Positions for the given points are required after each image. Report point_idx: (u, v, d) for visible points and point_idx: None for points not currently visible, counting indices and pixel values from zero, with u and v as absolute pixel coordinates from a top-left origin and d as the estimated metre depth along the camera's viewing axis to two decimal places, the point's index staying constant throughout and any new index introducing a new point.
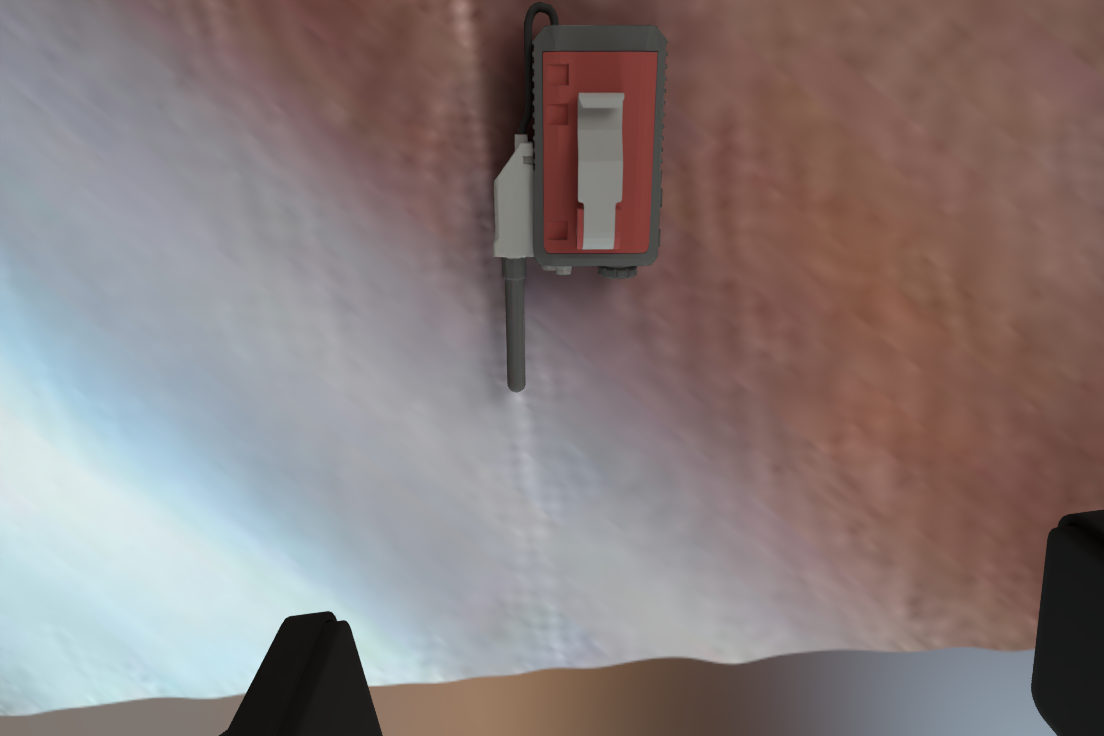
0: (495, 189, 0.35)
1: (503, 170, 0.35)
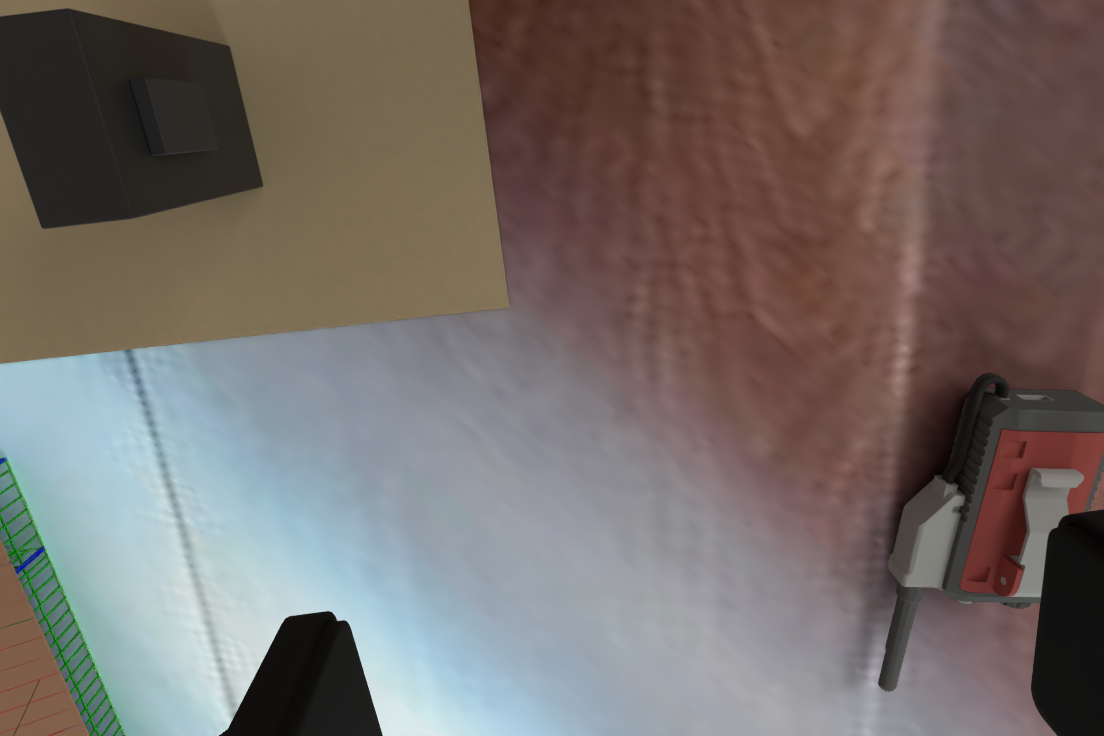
0: (919, 532, 0.37)
1: (931, 517, 0.37)
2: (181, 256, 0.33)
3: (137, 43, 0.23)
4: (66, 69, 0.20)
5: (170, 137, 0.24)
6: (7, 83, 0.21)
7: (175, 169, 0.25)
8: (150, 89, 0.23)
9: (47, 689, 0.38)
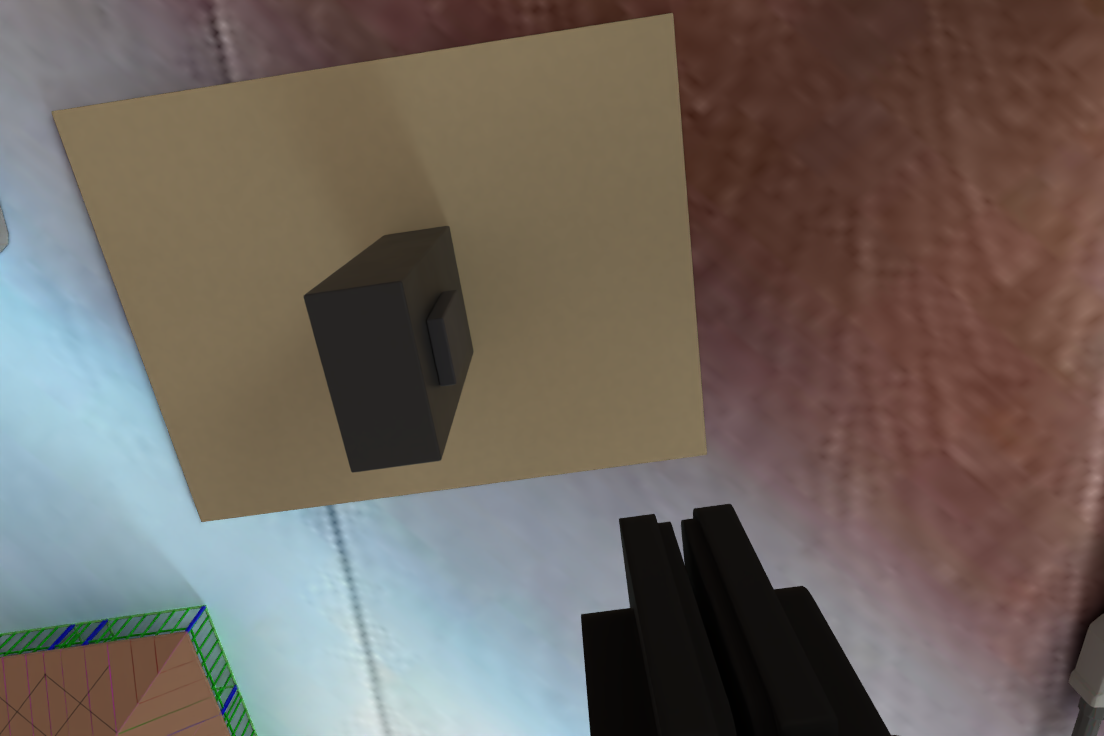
0: None
1: None
2: None
3: (423, 277, 0.24)
4: (392, 334, 0.21)
5: (455, 365, 0.24)
6: (334, 349, 0.21)
7: (448, 386, 0.25)
8: (444, 327, 0.23)
9: None
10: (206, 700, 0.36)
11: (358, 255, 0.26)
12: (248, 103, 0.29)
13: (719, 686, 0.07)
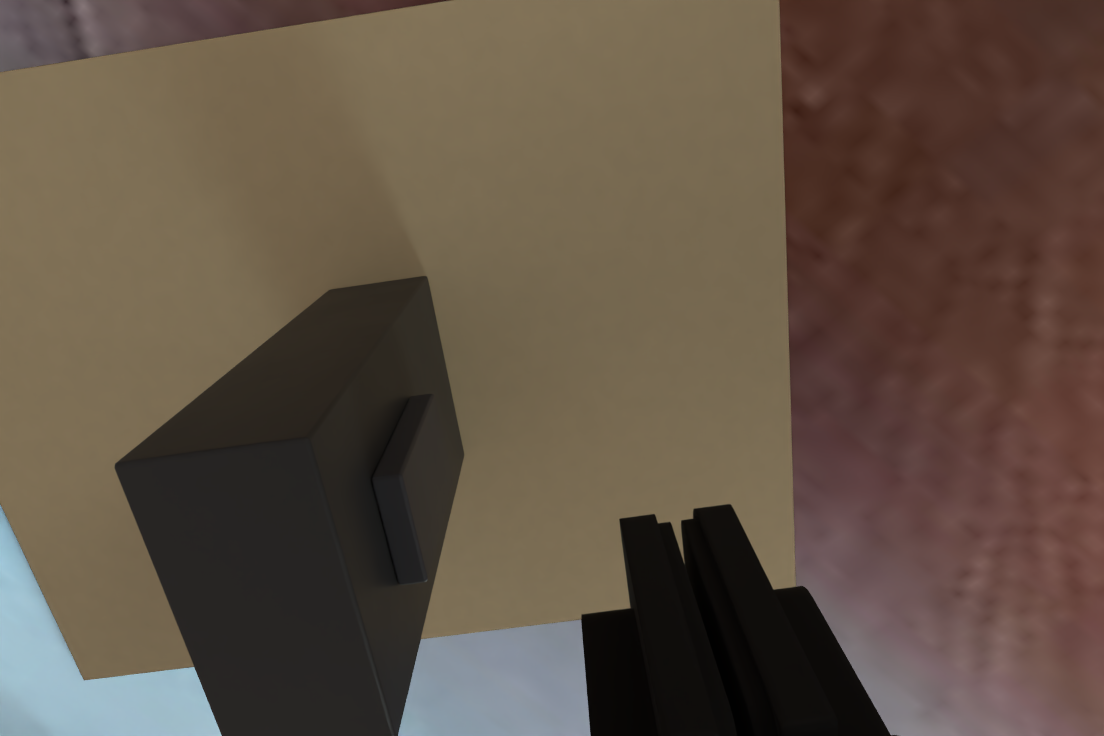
0: None
1: None
2: None
3: (370, 393, 0.14)
4: (294, 534, 0.11)
5: (426, 546, 0.14)
6: (183, 560, 0.11)
7: None
8: (405, 488, 0.13)
9: None
10: None
11: (271, 338, 0.16)
12: (114, 90, 0.19)
13: (719, 686, 0.07)
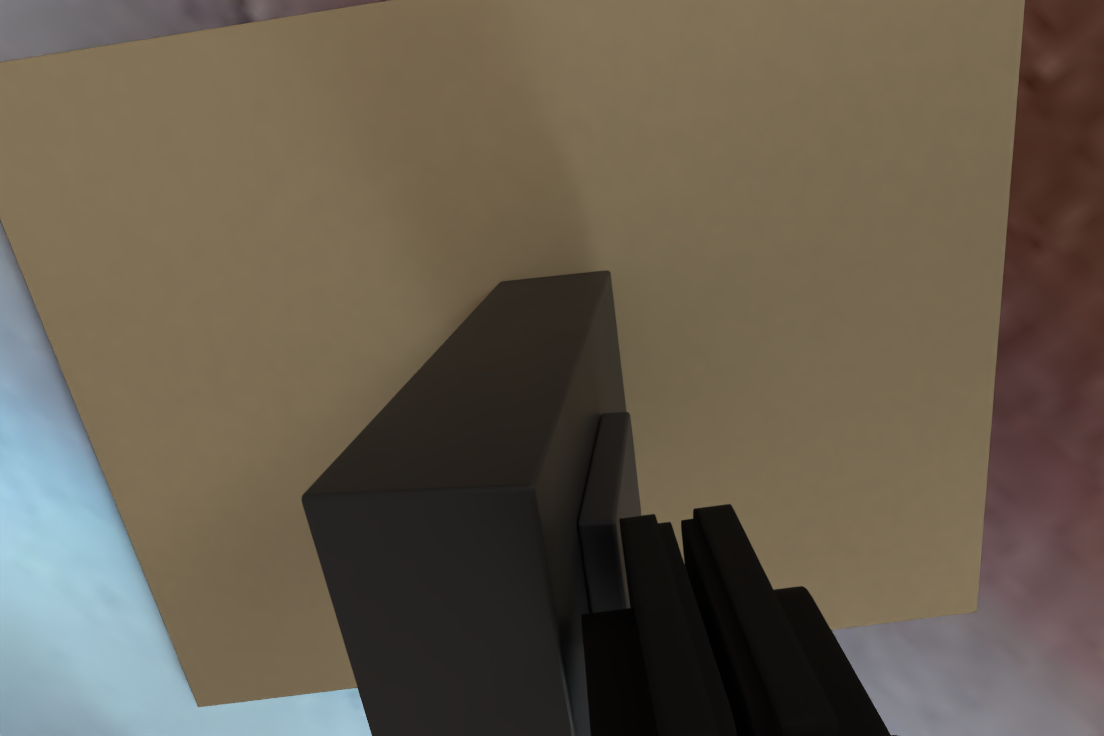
0: None
1: None
2: None
3: (576, 416, 0.11)
4: (502, 597, 0.09)
5: (629, 602, 0.11)
6: (370, 613, 0.09)
7: None
8: (616, 537, 0.11)
9: None
10: None
11: (451, 338, 0.14)
12: (281, 59, 0.17)
13: (719, 686, 0.07)
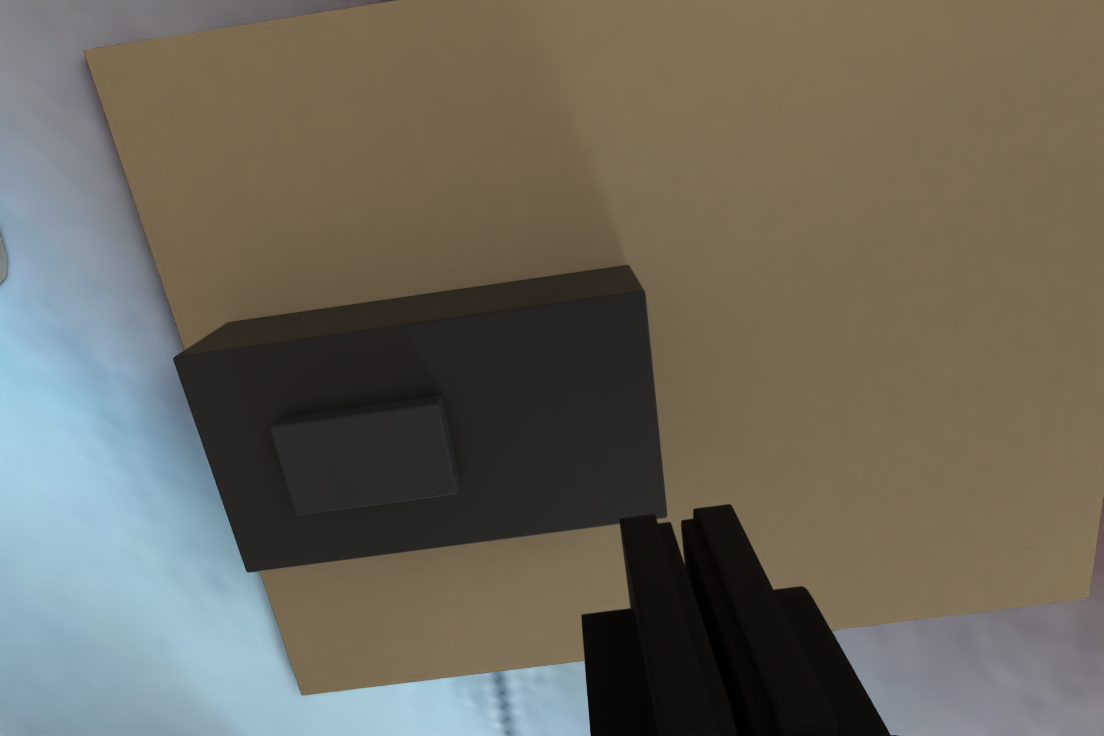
0: None
1: None
2: (606, 547, 0.22)
3: (316, 363, 0.16)
4: None
5: (309, 495, 0.17)
6: None
7: (363, 515, 0.18)
8: (278, 440, 0.16)
9: None
10: None
11: (445, 291, 0.19)
12: (427, 37, 0.17)
13: (719, 686, 0.07)
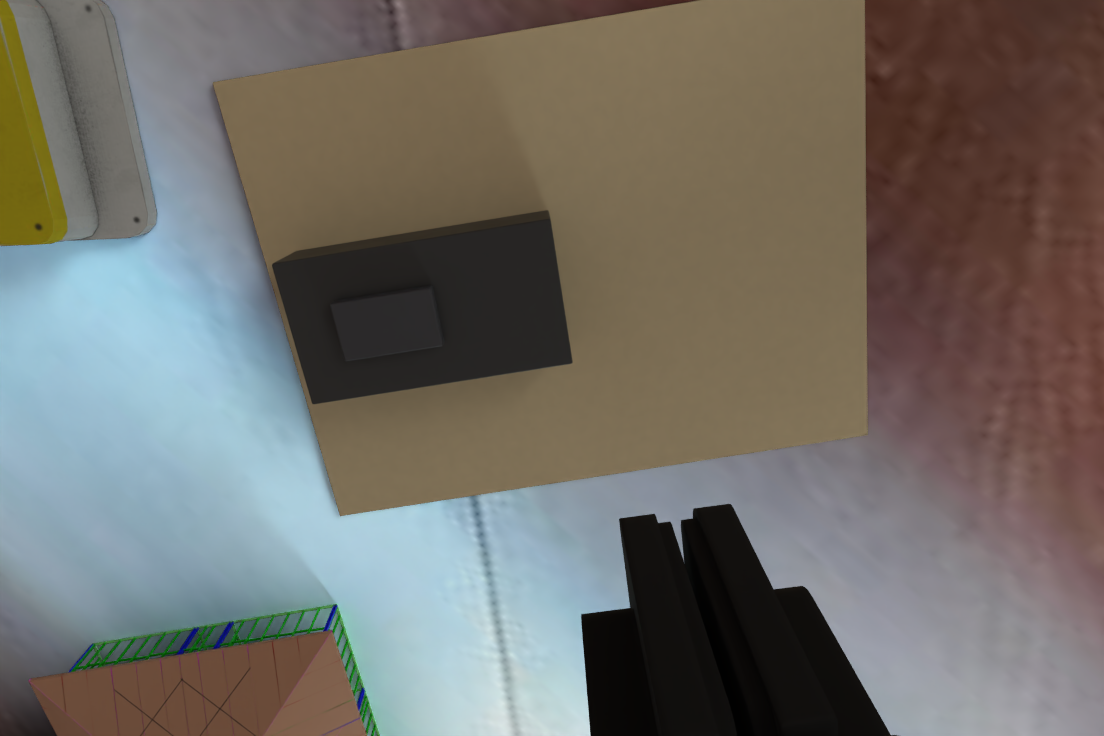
0: None
1: None
2: (543, 403, 0.33)
3: (357, 266, 0.27)
4: None
5: (353, 347, 0.28)
6: None
7: (385, 364, 0.29)
8: (335, 312, 0.27)
9: None
10: (347, 703, 0.34)
11: None
12: (420, 71, 0.28)
13: (719, 686, 0.07)
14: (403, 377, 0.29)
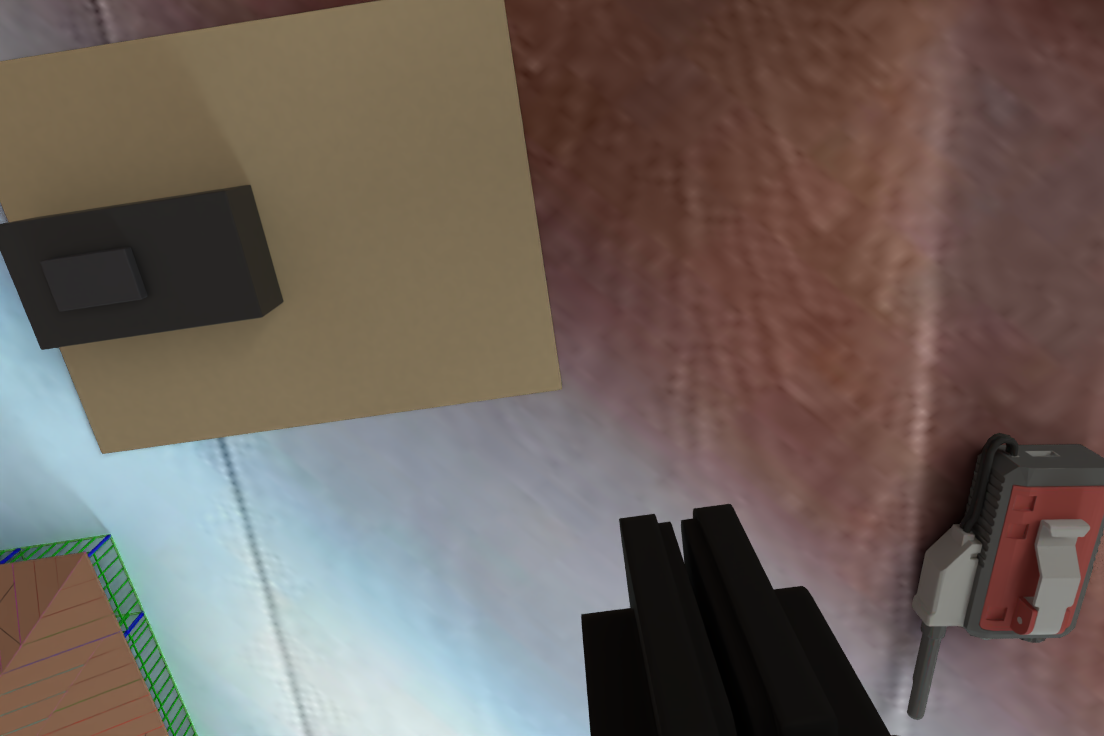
0: (941, 577, 0.40)
1: (951, 564, 0.40)
2: (269, 355, 0.37)
3: (64, 229, 0.32)
4: None
5: (64, 299, 0.32)
6: None
7: (99, 315, 0.33)
8: (45, 268, 0.32)
9: None
10: (106, 617, 0.39)
11: None
12: (125, 62, 0.32)
13: (719, 686, 0.07)
14: (116, 327, 0.33)
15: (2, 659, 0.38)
